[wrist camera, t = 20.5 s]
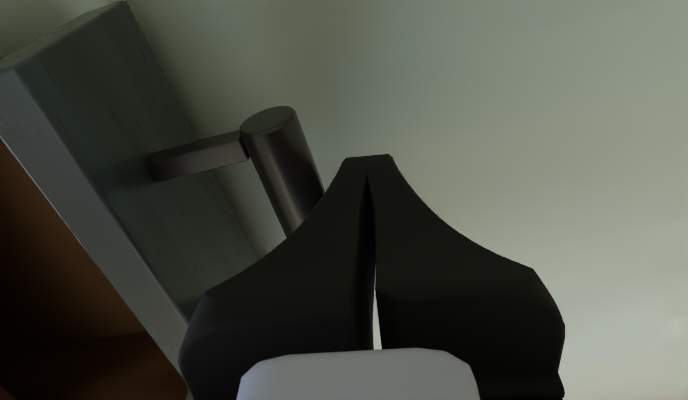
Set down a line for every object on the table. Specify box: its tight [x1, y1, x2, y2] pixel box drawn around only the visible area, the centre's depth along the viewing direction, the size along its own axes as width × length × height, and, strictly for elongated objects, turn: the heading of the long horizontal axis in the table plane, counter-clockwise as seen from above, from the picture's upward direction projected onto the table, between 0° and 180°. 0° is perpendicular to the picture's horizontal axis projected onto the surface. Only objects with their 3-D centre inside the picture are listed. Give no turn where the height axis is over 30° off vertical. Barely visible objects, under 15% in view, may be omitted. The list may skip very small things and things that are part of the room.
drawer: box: [0, 1, 325, 400], centre depth 15 cm, size 17×12×5 cm
